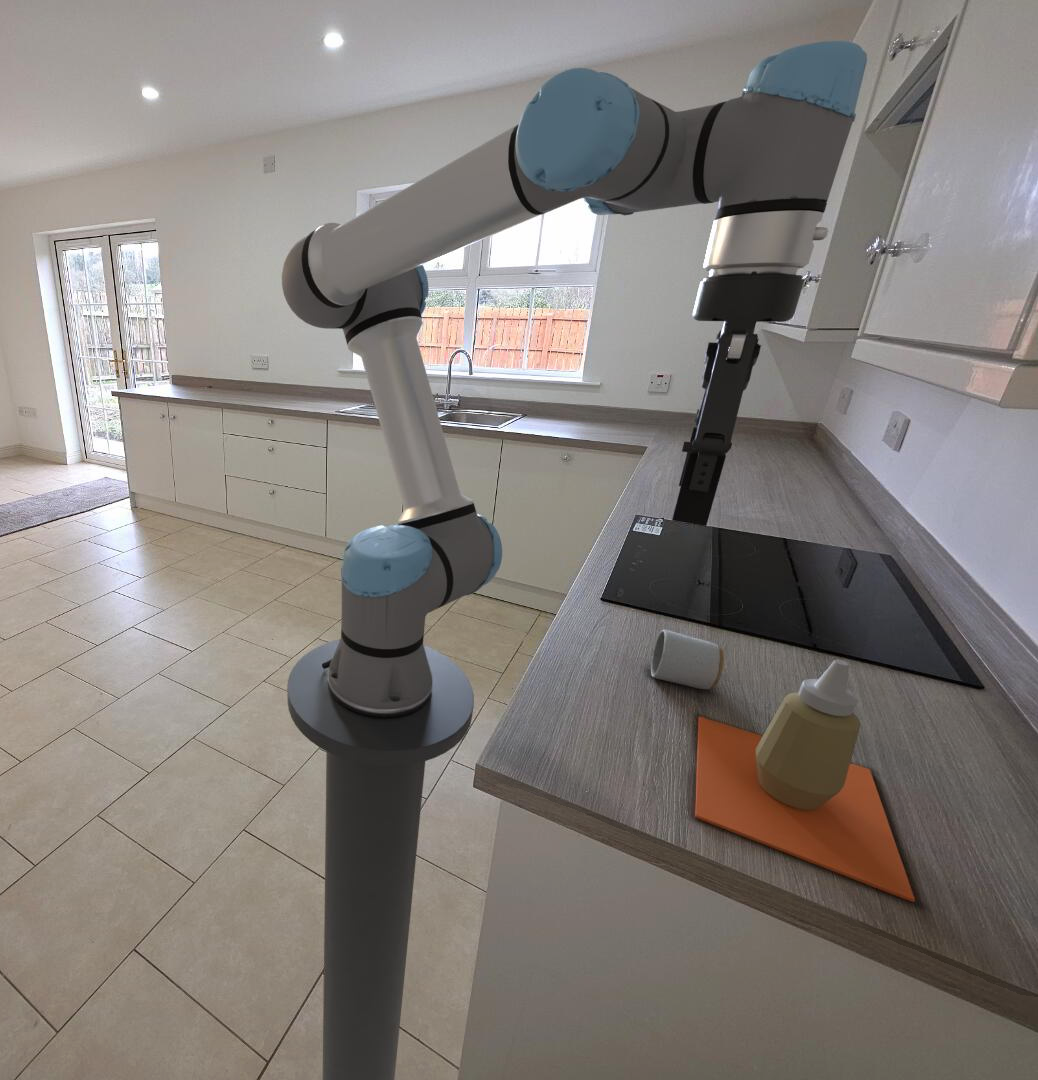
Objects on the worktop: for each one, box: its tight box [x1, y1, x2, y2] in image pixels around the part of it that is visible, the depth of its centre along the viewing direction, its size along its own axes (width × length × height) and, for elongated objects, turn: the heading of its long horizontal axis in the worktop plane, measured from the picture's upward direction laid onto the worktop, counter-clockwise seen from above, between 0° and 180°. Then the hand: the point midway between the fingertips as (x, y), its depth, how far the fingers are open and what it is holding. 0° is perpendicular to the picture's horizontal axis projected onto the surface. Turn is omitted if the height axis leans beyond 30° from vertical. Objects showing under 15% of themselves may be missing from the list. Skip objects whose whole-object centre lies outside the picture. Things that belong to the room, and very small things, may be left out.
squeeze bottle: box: [755, 658, 862, 810], centre depth 63 cm, size 8×8×18 cm
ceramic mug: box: [650, 629, 725, 690], centre depth 87 cm, size 11×8×8 cm
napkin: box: [694, 715, 916, 903], centre depth 67 cm, size 18×20×1 cm
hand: (691, 503), depth 57 cm, fingers open, 13 cm apart
